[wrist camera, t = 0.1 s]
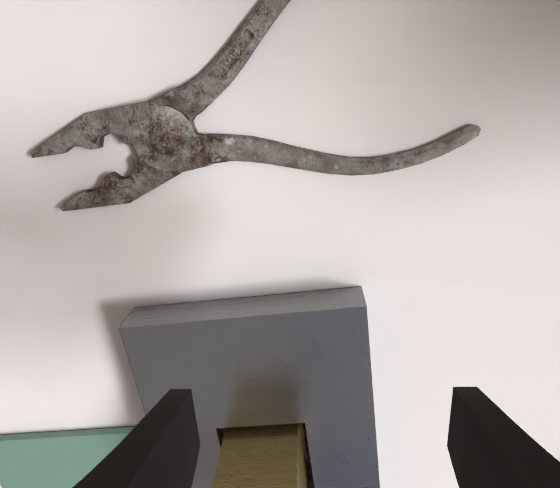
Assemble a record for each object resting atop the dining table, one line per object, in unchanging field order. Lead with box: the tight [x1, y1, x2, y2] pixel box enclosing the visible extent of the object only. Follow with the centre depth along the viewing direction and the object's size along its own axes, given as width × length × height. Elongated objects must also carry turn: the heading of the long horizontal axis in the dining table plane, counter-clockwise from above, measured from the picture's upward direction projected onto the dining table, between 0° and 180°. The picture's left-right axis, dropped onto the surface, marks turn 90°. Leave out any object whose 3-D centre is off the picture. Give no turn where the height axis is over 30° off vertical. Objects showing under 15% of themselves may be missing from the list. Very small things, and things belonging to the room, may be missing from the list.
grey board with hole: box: [119, 286, 380, 488], centre depth 24 cm, size 18×12×2 cm, turn 8°
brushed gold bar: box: [212, 423, 307, 488], centre depth 22 cm, size 4×4×7 cm
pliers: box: [31, 0, 481, 211], centre depth 19 cm, size 10×1×20 cm
